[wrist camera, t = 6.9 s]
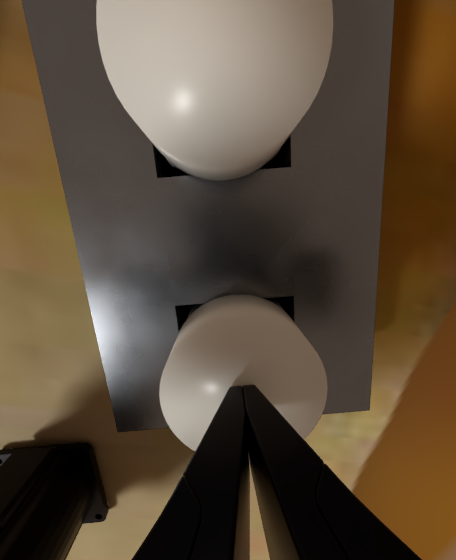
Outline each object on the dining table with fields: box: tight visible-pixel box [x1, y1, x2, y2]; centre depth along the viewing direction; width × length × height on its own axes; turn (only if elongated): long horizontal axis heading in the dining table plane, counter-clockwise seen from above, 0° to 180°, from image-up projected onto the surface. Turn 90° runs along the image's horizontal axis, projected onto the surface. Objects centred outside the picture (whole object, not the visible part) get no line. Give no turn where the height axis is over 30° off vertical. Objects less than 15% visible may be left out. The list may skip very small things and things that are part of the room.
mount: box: [22, 0, 394, 432], centre depth 11 cm, size 17×12×4 cm
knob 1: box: [96, 0, 333, 181], centre depth 9 cm, size 6×6×6 cm
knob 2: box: [159, 294, 328, 463], centre depth 11 cm, size 6×6×6 cm
